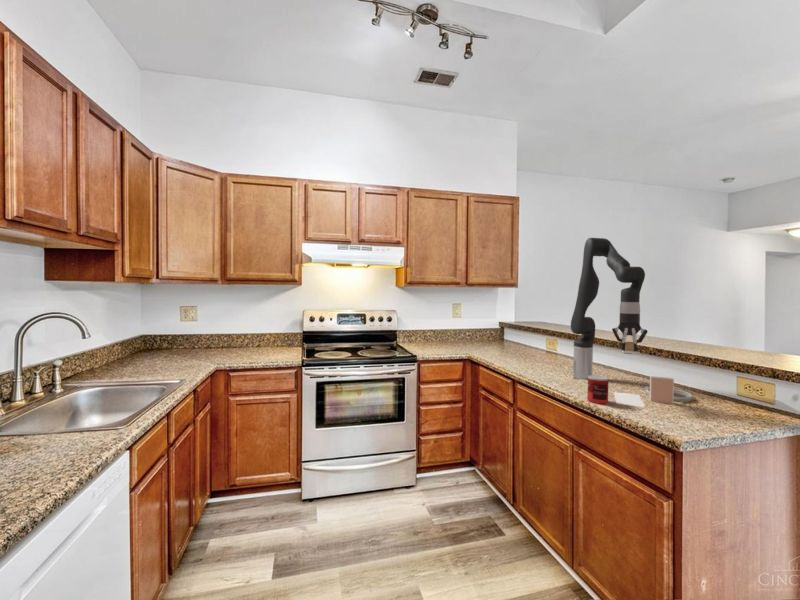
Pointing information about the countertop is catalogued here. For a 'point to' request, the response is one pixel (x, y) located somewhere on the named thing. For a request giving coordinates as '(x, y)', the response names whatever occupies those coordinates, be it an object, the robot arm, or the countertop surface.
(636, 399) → the mat
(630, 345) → the tan long bar
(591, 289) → the robot arm
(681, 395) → the frying pan
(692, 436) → the countertop surface
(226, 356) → the countertop surface
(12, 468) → the countertop surface
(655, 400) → the tile
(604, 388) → the canned food
